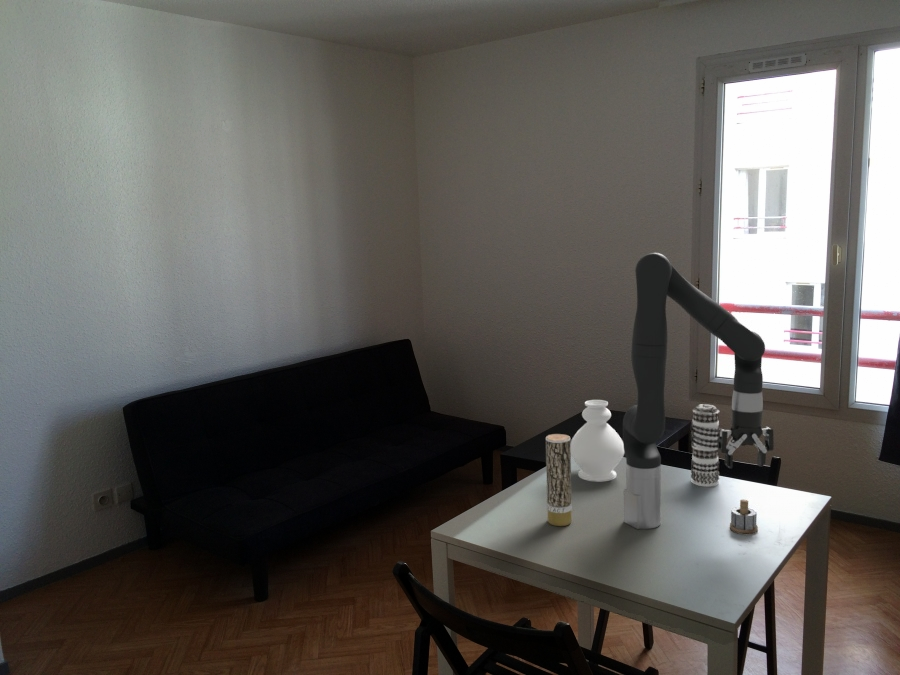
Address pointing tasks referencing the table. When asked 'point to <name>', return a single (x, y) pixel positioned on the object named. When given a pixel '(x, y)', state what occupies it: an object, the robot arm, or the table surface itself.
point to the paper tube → (558, 479)
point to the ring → (743, 519)
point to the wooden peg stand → (744, 511)
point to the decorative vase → (597, 444)
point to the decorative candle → (705, 446)
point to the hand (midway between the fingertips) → (744, 466)
